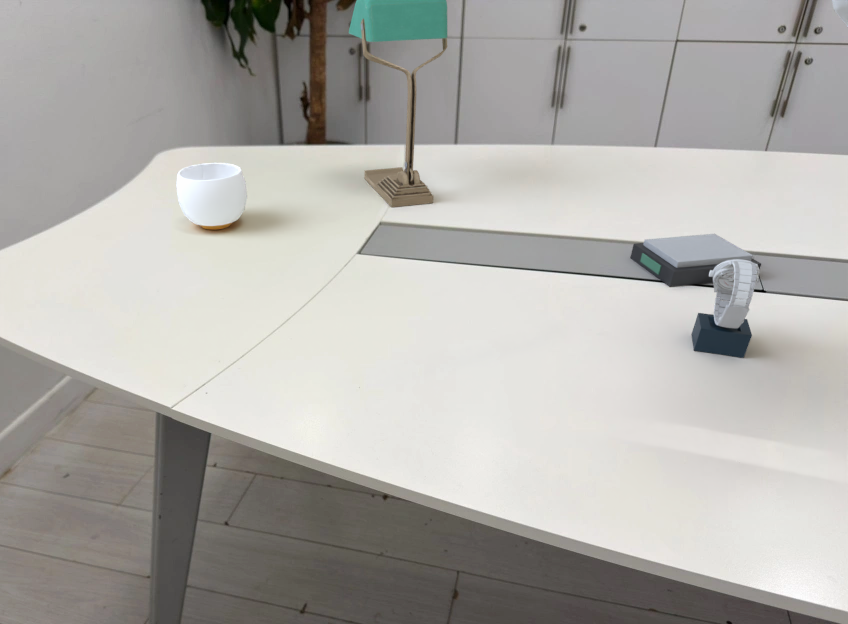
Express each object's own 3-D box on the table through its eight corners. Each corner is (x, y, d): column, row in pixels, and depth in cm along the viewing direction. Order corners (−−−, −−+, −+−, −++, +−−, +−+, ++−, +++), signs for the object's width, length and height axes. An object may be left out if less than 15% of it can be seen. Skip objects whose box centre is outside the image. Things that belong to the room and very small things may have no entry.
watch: (737, 333, 86) (766, 253, 80) (745, 365, 80) (777, 280, 74) (689, 327, 88) (714, 247, 82) (694, 357, 82) (721, 273, 76)
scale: (710, 250, 109) (716, 230, 107) (756, 278, 100) (764, 257, 98) (628, 257, 107) (633, 237, 105) (668, 286, 98) (674, 265, 96)
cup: (191, 241, 116) (183, 185, 111) (175, 219, 126) (167, 167, 120) (258, 229, 120) (254, 175, 115) (238, 209, 130) (233, 158, 124)
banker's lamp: (372, 208, 129) (375, -2, 109) (346, 178, 146) (344, -9, 126) (450, 201, 132) (466, -5, 112) (415, 172, 148) (423, -12, 129)
